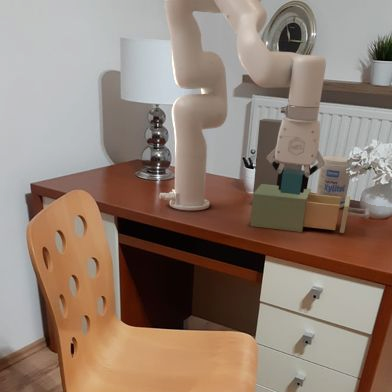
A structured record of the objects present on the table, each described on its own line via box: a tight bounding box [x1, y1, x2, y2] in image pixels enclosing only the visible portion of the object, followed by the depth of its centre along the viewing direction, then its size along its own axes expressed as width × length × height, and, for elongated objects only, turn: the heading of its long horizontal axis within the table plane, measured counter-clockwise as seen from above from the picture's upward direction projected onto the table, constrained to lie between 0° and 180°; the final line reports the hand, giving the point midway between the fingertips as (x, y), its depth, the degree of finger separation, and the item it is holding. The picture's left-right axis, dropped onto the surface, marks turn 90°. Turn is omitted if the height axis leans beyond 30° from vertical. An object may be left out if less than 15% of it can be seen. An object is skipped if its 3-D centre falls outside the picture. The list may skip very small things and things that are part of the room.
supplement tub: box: [315, 155, 351, 209], centre depth 167 cm, size 10×10×15 cm
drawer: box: [303, 193, 370, 234], centre depth 146 cm, size 19×11×7 cm, turn 74°
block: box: [280, 169, 305, 195], centre depth 134 cm, size 5×5×5 cm
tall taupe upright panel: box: [251, 118, 303, 204], centre depth 163 cm, size 14×6×25 cm, turn 68°
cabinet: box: [250, 184, 312, 233], centre depth 150 cm, size 15×13×9 cm
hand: (291, 189), depth 135 cm, fingers closed on block, 5 cm apart
